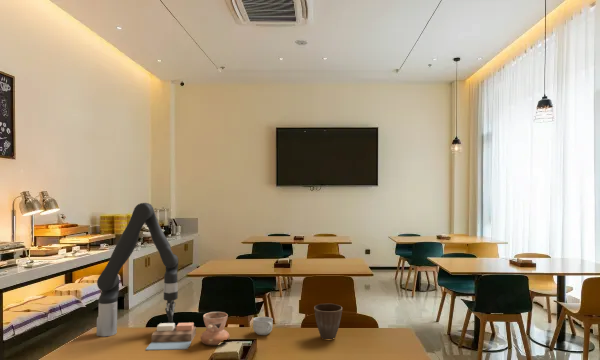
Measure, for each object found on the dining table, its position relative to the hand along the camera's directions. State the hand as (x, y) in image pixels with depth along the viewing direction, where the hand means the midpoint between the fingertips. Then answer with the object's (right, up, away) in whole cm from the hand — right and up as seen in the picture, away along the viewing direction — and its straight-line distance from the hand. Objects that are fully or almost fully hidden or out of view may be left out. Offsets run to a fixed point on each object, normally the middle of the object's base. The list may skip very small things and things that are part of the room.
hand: (170, 322), depth 224 cm
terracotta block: (+10, -1, -8) cm, 13 cm away
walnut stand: (+6, -5, -11) cm, 13 cm away
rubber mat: (+6, -4, -22) cm, 23 cm away
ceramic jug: (+28, -5, -17) cm, 33 cm away
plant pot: (+87, -5, -10) cm, 88 cm away
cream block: (+1, -1, -9) cm, 9 cm away
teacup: (+52, -5, -5) cm, 53 cm away
